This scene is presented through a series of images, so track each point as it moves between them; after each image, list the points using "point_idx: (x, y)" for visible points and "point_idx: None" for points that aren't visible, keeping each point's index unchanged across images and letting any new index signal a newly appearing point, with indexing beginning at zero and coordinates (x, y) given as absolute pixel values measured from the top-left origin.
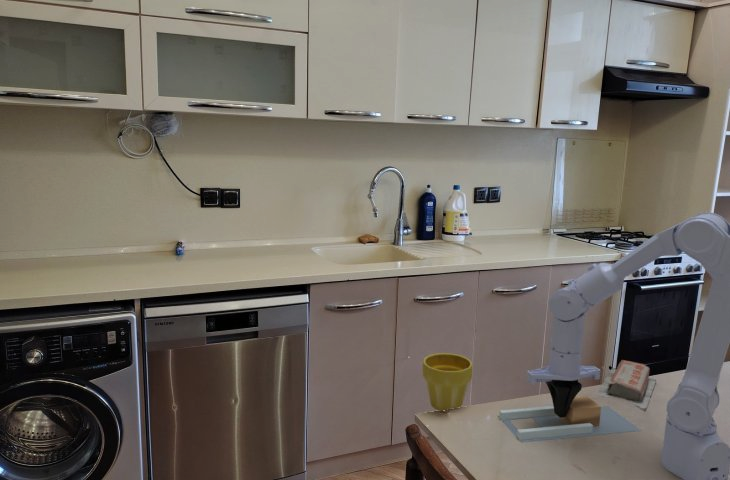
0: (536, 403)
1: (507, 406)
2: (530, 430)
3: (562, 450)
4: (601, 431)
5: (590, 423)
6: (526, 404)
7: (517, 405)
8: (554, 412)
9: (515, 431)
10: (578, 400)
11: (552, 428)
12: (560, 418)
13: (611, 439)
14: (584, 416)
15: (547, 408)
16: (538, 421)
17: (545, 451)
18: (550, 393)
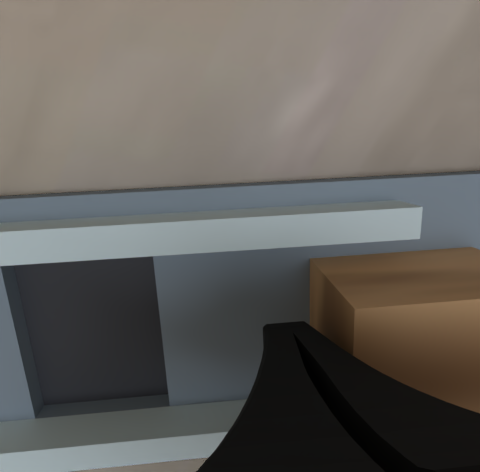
0: (295, 8)
1: (79, 22)
2: (40, 465)
3: (192, 463)
4: None
5: None
6: (222, 12)
7: (154, 18)
8: (263, 327)
9: (2, 373)
10: (473, 347)
11: (173, 452)
12: (310, 276)
13: None
14: None
15: (260, 241)
16: (171, 291)
17: (117, 467)
18: (250, 392)
